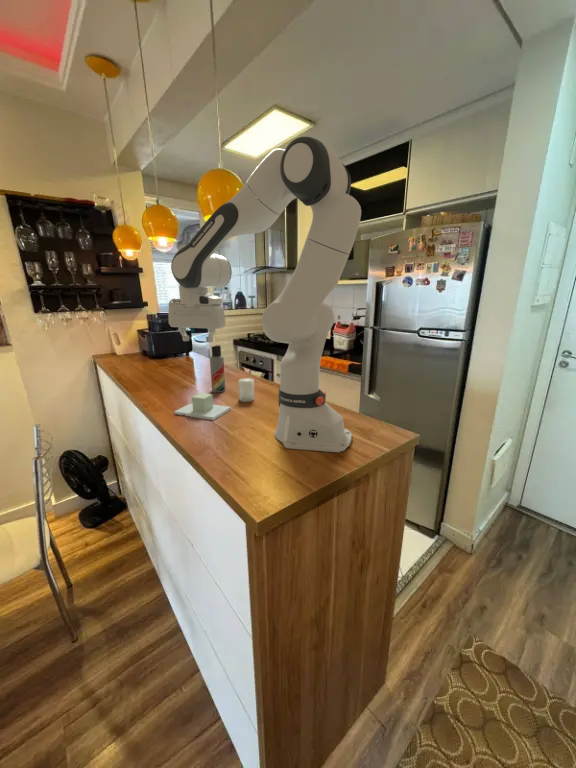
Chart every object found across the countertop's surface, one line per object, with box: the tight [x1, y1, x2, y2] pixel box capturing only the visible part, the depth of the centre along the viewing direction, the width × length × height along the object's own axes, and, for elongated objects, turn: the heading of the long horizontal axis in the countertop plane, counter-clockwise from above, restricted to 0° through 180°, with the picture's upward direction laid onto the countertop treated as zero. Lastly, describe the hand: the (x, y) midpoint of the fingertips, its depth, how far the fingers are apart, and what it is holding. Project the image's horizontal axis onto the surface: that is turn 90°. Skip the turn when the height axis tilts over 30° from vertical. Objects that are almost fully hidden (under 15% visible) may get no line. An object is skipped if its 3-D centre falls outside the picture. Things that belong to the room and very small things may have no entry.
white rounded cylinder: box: [238, 377, 255, 403], centre depth 122 cm, size 6×6×8 cm
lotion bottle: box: [209, 344, 226, 393], centre depth 132 cm, size 6×6×20 cm
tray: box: [174, 402, 232, 421], centre depth 110 cm, size 16×11×1 cm
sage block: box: [191, 392, 214, 412], centre depth 109 cm, size 5×5×5 cm
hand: (197, 341), depth 103 cm, fingers open, 8 cm apart
